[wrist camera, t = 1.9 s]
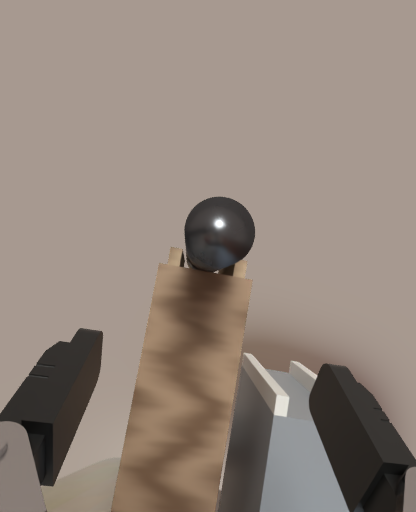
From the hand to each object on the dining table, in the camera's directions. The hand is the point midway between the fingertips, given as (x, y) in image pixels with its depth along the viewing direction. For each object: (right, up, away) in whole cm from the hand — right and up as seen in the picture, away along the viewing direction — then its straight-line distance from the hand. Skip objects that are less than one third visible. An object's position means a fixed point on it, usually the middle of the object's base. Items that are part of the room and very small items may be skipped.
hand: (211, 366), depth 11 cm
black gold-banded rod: (0, +2, +17) cm, 17 cm away
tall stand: (-6, -29, +18) cm, 35 cm away
